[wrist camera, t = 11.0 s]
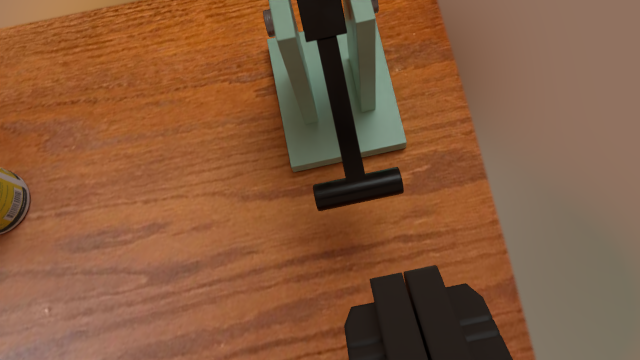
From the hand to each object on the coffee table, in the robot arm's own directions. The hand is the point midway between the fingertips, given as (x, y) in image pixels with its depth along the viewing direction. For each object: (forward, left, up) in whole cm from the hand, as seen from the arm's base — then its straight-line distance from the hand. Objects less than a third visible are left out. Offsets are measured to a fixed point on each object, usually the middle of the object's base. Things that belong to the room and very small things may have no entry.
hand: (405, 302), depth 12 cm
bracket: (+13, -10, -24) cm, 29 cm away
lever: (+10, -7, -17) cm, 21 cm away
